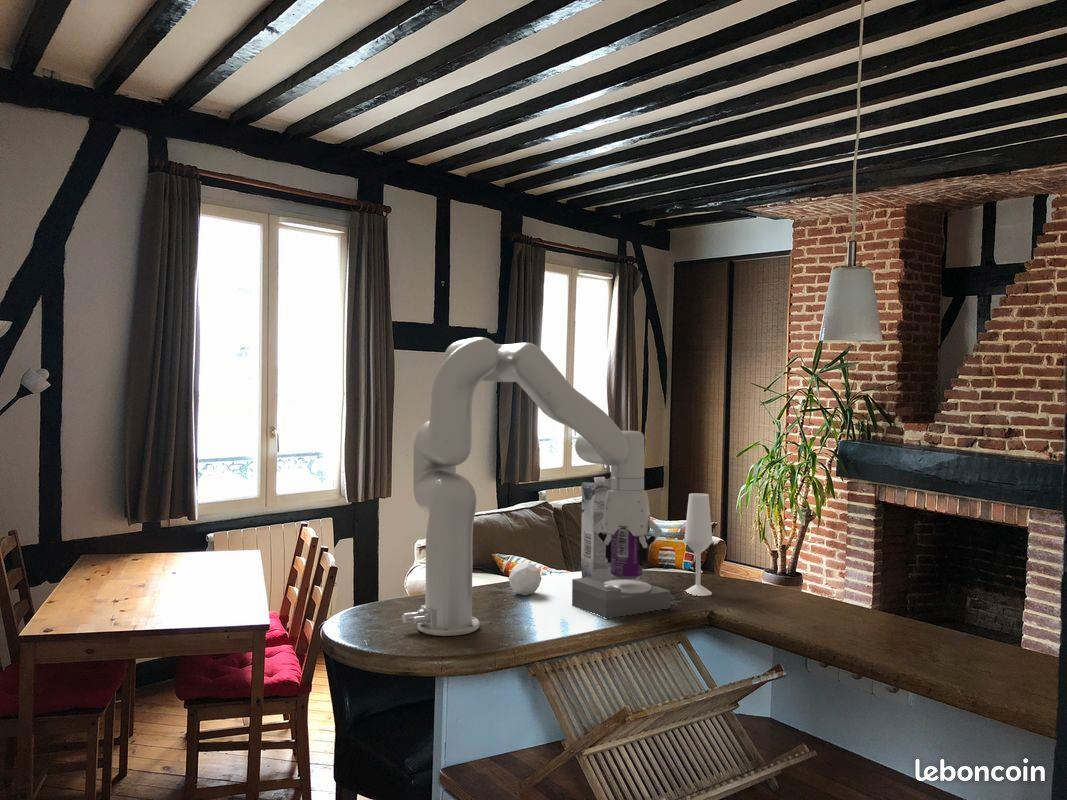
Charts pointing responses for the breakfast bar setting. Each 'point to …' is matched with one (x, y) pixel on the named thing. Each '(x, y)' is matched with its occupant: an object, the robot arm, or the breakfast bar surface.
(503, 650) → the breakfast bar surface
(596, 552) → the juice carton
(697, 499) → the champagne flute
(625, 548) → the beverage can
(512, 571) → the geometric ball
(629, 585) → the grey display pedestal
